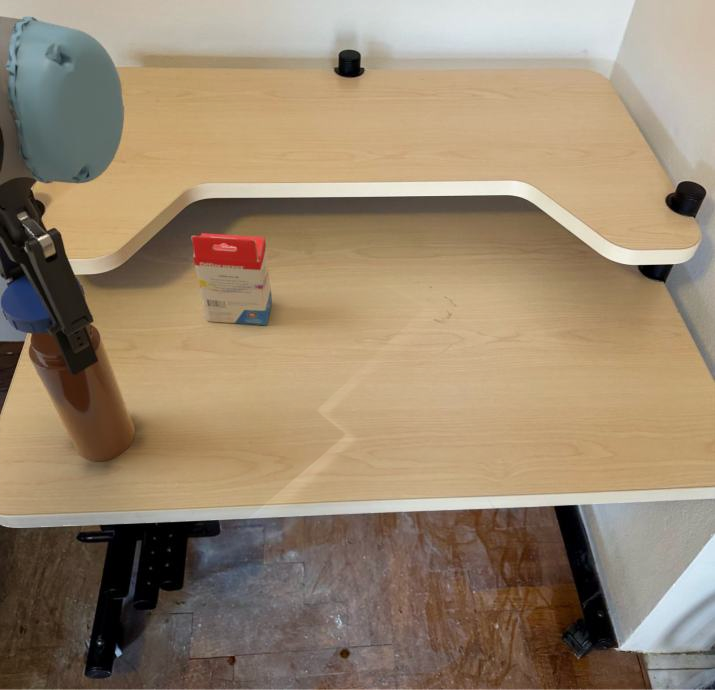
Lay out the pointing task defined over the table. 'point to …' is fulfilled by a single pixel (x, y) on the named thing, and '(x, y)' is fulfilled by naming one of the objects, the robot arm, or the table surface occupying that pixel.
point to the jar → (85, 398)
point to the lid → (25, 307)
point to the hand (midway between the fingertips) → (63, 345)
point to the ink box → (233, 278)
